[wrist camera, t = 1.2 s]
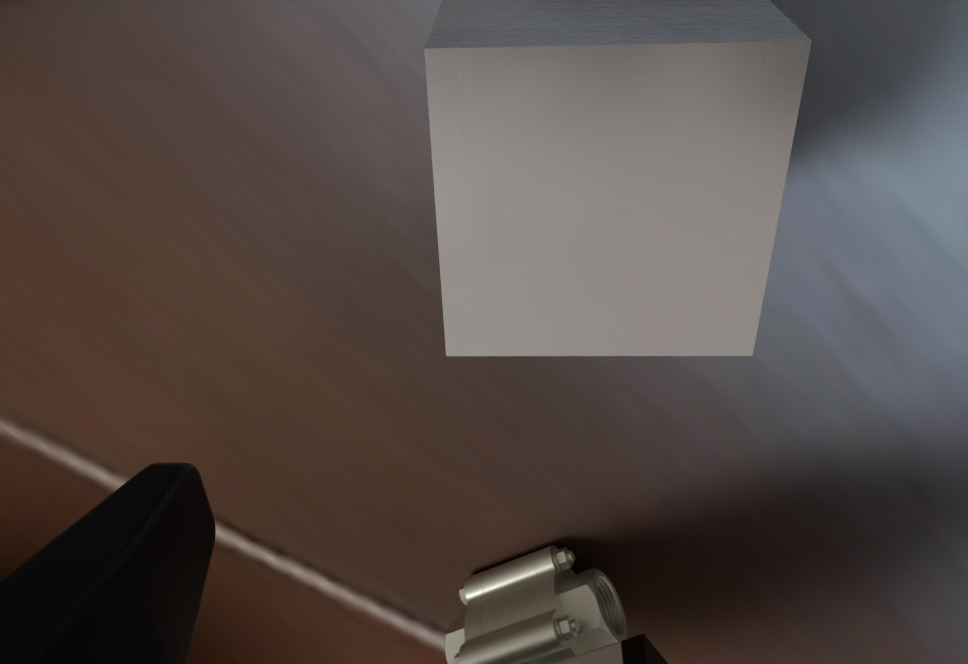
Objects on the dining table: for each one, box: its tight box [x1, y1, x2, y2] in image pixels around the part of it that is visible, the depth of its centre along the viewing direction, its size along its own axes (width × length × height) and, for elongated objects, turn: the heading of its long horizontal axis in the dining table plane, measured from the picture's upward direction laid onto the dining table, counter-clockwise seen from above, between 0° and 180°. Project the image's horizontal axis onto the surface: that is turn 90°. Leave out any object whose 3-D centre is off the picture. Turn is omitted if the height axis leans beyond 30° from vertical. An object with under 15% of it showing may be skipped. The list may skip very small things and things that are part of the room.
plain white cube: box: [424, 0, 812, 356], centre depth 15 cm, size 5×5×6 cm
